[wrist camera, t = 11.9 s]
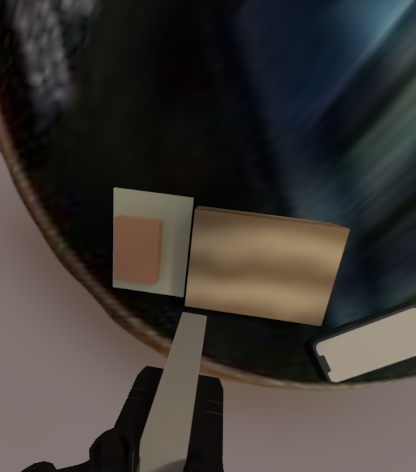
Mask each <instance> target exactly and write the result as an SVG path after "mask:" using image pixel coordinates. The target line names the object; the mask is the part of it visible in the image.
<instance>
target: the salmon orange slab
mask: <svg viewBox="0 0 416 472" xmlns="http://www.w3.org/2000/svg"><path fill="white" fill-rule="evenodd" d="M162 232H163V220H158V219H150V218H142V217H134V216H126V215H119V216H116V217H114V280H120V281H127V282H135V283H142V284H150V285H156V284H157V282H158V281H159V279H160V266H161V249H162Z"/></svg>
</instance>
